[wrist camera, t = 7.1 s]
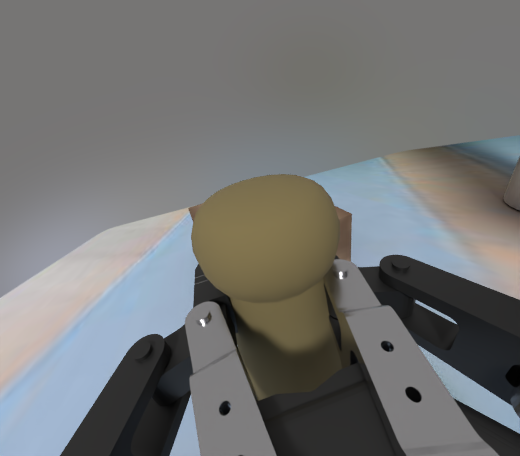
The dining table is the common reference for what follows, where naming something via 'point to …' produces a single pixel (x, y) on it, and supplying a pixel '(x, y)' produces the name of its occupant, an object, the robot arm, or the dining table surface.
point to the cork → (274, 276)
